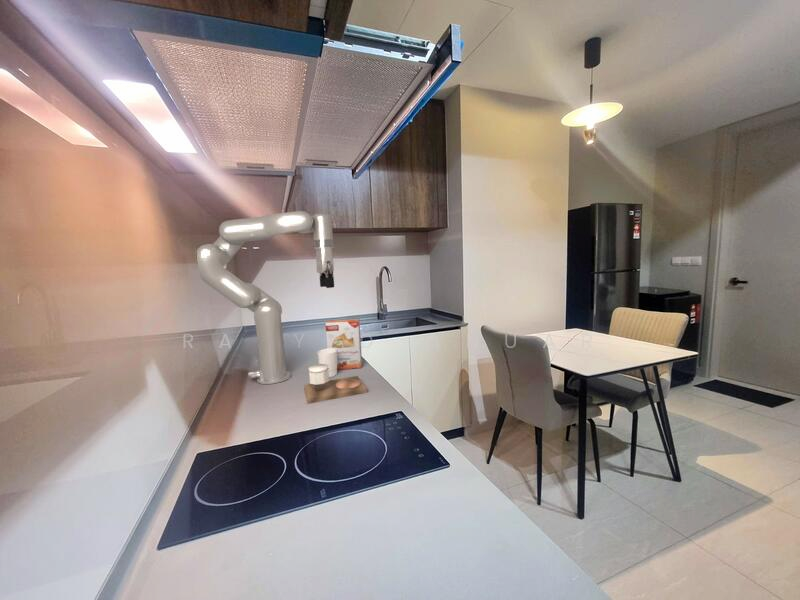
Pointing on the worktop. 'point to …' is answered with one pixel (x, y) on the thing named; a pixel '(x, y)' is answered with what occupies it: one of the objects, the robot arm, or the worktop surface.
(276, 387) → the worktop surface
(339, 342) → the cracker box
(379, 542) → the worktop surface
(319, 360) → the white cup
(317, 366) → the cap
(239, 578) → the worktop surface
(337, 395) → the post board
